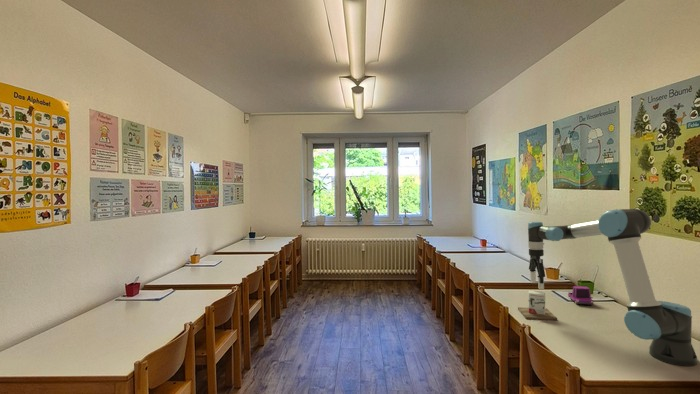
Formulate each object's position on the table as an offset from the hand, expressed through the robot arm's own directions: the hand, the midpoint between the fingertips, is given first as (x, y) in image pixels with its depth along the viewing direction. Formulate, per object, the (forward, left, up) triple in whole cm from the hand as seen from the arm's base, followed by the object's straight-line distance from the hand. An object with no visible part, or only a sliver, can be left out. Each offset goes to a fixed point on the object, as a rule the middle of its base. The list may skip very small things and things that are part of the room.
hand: (537, 285), depth 203 cm
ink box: (0, 0, -16) cm, 16 cm away
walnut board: (0, 0, -17) cm, 17 cm away
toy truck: (+27, -34, -17) cm, 47 cm away
